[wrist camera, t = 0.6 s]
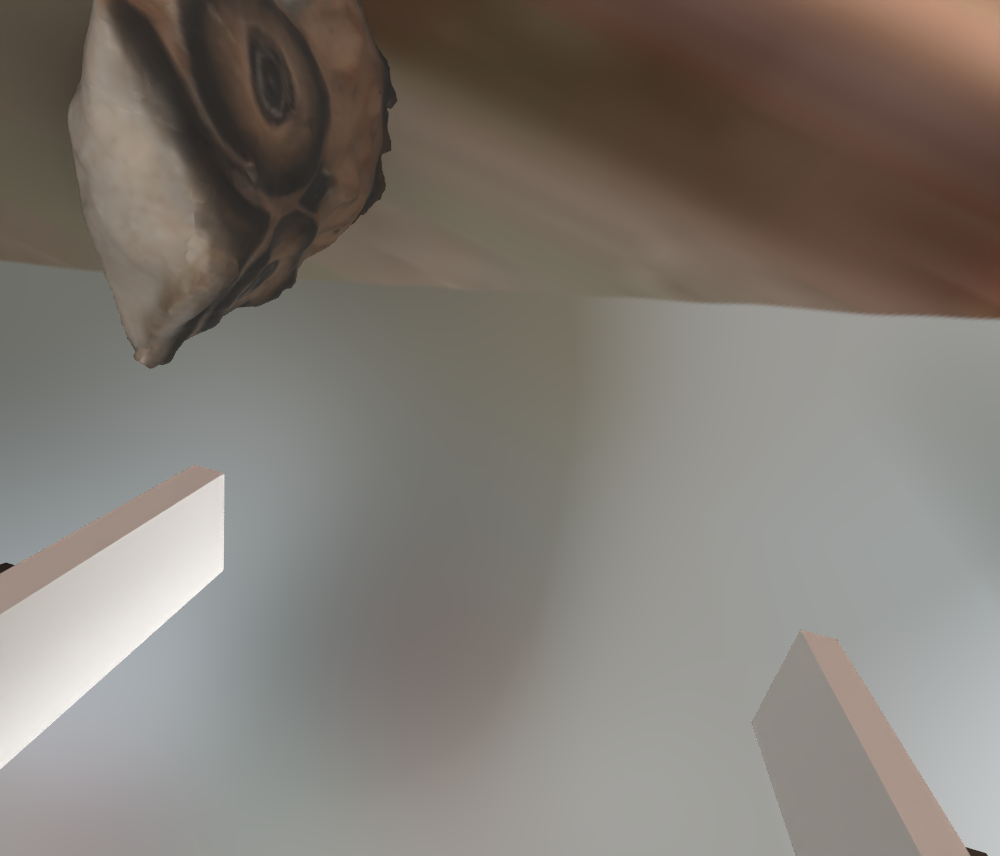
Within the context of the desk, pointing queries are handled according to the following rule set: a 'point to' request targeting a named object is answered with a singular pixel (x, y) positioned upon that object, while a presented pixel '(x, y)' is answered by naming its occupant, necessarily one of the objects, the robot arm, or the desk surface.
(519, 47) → the desk surface
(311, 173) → the owl
